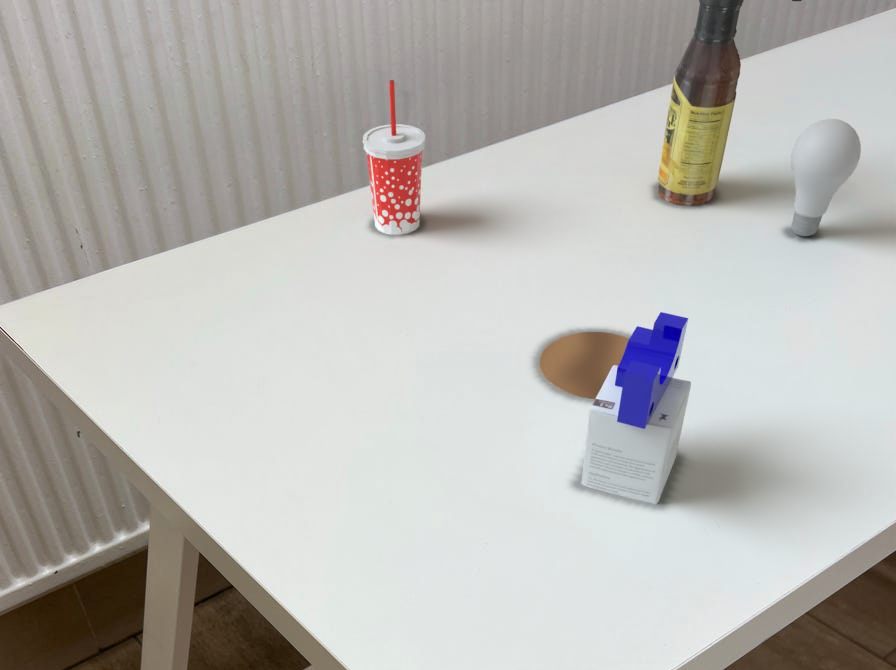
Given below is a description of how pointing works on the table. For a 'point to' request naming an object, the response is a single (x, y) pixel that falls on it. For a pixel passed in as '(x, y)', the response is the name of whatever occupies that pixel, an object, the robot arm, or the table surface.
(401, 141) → the beverage cup
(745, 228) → the table surface
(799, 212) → the lightbulb
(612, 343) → the cork coaster
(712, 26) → the sauce bottle
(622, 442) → the white cardboard box
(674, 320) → the cable holder
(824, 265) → the table surface
